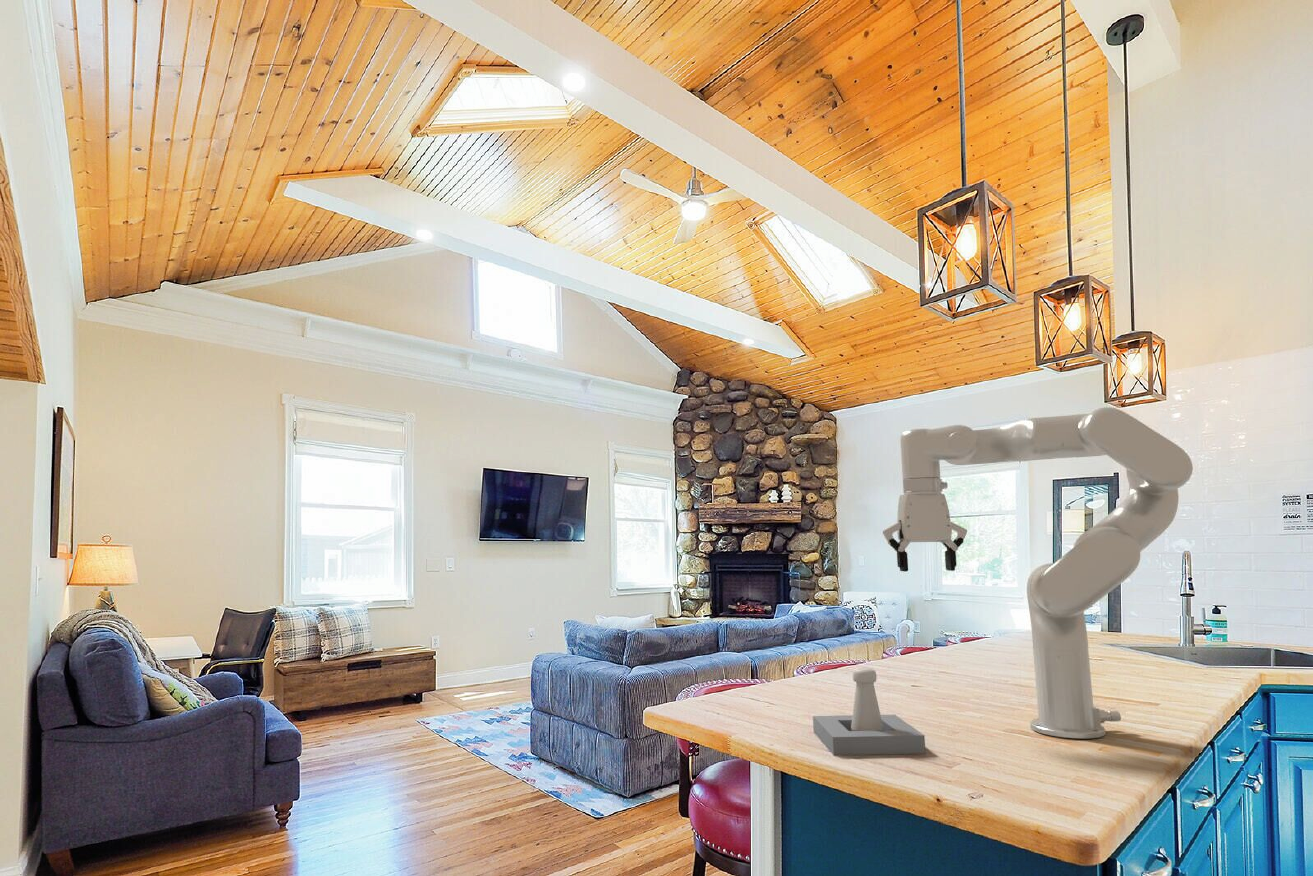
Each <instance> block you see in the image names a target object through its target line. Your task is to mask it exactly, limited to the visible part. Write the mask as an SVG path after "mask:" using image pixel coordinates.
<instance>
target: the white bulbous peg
mask: <svg viewBox="0 0 1313 876" xmlns="http://www.w3.org/2000/svg"><path fill="white" fill-rule="evenodd" d="M852 681H854V683H855V682H856V684H855V694H854V700H853V710H852V715H853V716H852V724H851V729H852V731H883V730H884V729H883V724H882V720H881V715H882V714H881V710H880V707H879V703H878V698H877V693H876V689H875V684H874V683H876V682H877V671H876V670H875V669H873V668H869V667H857V668H855V669H853V671H852Z"/></svg>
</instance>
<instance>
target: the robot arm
mask: <svg viewBox="0 0 1313 876" xmlns="http://www.w3.org/2000/svg"><path fill="white" fill-rule="evenodd" d="M899 438H900V455H901V456H900V457H901V458H900V459H901V470H902V472H901V473H902V489H903V494H901V495H899V497H898V505H897V520H896V521H897V522H896V523H894V524H892V525H891V526H889V527H887V528H886V529H884V530H882V535H883V537H884V538H885V540H886V541H887V544H888V545H889V546H890V547H891V548H892V549H894V551H895V552H896V560H897V561H896V562H897V567H898V568H899V571H900V572H908V571H909V562H908V561H909V559H908V552H907V551H906V548H908V546H909V545H910V543H941V544H942V545H943V546H944V547H945V549H946V550H945V551H944V563H945V569H946V571H950V572H954V571H956V567H957V565H958V564H957V551H958V550H959V547H960V546H961V545H962V544H963V543H964V540H965V538H966V536H967V534H968V529H966V528H965V527H962V526H960V525H958V524H957V523H954V522H953V521H951V515H950V509H949V506H948V501H947V497H946V495H945V493H943V490H944V489H946V490H947V489H948V486H949V485H948V482H947V481H946V482H944V481H942V479H941V465H940V461H945V462H946V463H948V464H951V465H954V466H968V465H969V466H970V465H982V464H983V465H986V464H997V463H1010V462H1011V463H1012V462H1029V461H1030V462H1031V461H1040V460H1041V461H1042V460H1053V459H1054V460H1056V459H1066V458H1067V459H1068V458H1087V457H1088V458H1089V457H1091V458H1092V457H1101V456H1108V457H1109V458H1111V459H1112V460H1113V461H1115V463H1118V464H1119V465H1120V466H1122V467H1124V468H1125V469H1126V472H1125V473H1126V478H1127V482H1128V486H1129V487H1128V492H1127V493H1128V494H1127V495H1126V498H1125V499H1124V500H1123V501H1122V502H1121V503H1120V504H1119V505H1117V507H1115V508H1114V509H1113V510H1112V511H1111V512H1110V513H1109V514H1108V515H1107V516H1105V517H1104V518H1102V519H1101V520H1100V521H1098V522H1097V523H1096V524H1094V525H1093V526H1092V527H1091V528H1089V529H1088V530H1086V531H1084V532H1083V533H1081V534H1080V535H1079V536H1078V537H1077V538H1076V541H1075V542H1074V544H1073V548H1071V549H1070V550H1068V551H1067V552H1066V553H1065V554H1064V555H1062V556H1061V557H1060V558H1058V560H1056V561H1055V562H1051V563H1050V562H1049V563H1045V564H1042V565H1040V566H1038V567H1036V568H1035V569H1034V570H1033V571H1031V573H1030V575H1029V577H1028V579H1027V583H1026V595H1027V596H1026V597H1027V604H1028V609H1029V611H1028V612H1029V618H1030V619H1029V620H1030V626H1031V636H1032V637H1031V638H1032V639H1031V640H1032V651H1033V652H1032V653H1033V654H1032V655H1033V664H1034V666H1033V667H1034V676H1035V688H1036V689H1035V690H1036V703H1037V712H1038V715H1037V716H1038V717H1037V718H1034V719H1032V720H1030V723H1029V724H1030V728H1031V729H1032V730H1033V731H1034V732H1037V733H1039V734H1043V735H1046V736H1051V737H1057V738H1066V739H1083V740H1084V739H1097V738H1102V737H1103V736H1105V735H1106V728H1105V726H1103V725H1102V724H1104V723H1105V722H1109V723H1110V722H1121V719H1122V716H1121V713H1120V711H1118V710H1107V711H1105V709H1100V708H1098V707H1096V706H1094V698H1093V697H1094V696H1093V688H1092V687H1093V686H1092V677H1091V666H1090V665H1091V664H1090V654H1089V640H1088V639H1089V638H1088V631H1087V623H1086V618H1085V611H1087V610H1088V609H1090V608H1092V606H1093V605H1095V604H1096V603H1097V602H1099V601H1101V599H1103V598H1104V597H1105V596H1107V595H1108V594H1110V593H1111V592H1112V591H1113V590H1115V588H1117V587H1119V585H1121V584H1122V583H1123V582H1125V581H1126V580H1127V579H1128V578H1129V577H1130V576H1131V575H1132V574H1133V573H1134V572H1135V571H1136V570H1137V569H1138V566H1139V564H1140V560H1141V552H1142V551H1143V550H1145V549H1146V548H1147V547H1148V546H1149V545H1150V544H1152V543H1153V542H1154V541H1155V540H1156V539H1157V538H1159V537H1160V536H1161V535H1162V534H1163V533H1165V531H1166V530H1167V529H1168V528H1169V527H1170V525H1171V524H1172V522H1173V521H1174V519H1175V517H1176V515H1177V511H1178V505H1179V497H1180V496H1179V490H1178V489H1179V488H1181V487H1184V486H1185V485H1186V483H1187V482H1188V481H1189V480H1190V479H1191V477H1192V475H1193V468H1194V467H1193V462H1192V459H1191V457H1190V456H1189V454H1188V453H1187V452H1186V451H1185V450H1184V449H1183V448H1181V447H1180V446H1179V445H1178V444H1176V443H1174V442H1173V441H1172V440H1170V439H1168V438H1167V437H1165V436H1164V435H1162V434H1161V433H1159V432H1157V431H1155V430H1154V429H1152V428H1151V427H1150V426H1149V425H1146V424H1145V423H1143V422H1142V421H1140V420H1138V419H1137V418H1135V417H1134V416H1132V415H1130V414H1129V413H1127V412H1126V411H1123V410H1121V409H1119V408H1116V407H1108V406H1107V407H1100V408H1098V409H1095V410H1092V412H1089V413H1082V414H1081V413H1080V414H1070V415H1057V416H1046V417H1045V416H1043V417H1032V418H1030V417H1029V418H1026V419H1022V420H1020V421H1019V420H1018V421H1016V422H1013V423H1011V424H1008V425H1003V426H999V427H993V428H985V429H973V428H971V427H969V426H966V425H963V424H955V425H948V426H944V427H943V426H942V427H938V428H931V429H930V428H914V429H908V430H905V431H903V432H902V433H901V434H900V437H899ZM952 531H954V532H956V538H954V539H953V540H952V537H953V533H952ZM895 532H896V533H897V539H898V541H897V540H896V539H895V537H894V536H893V534H894V533H895Z"/></svg>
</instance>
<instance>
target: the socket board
mask: <svg viewBox="0 0 1313 876" xmlns="http://www.w3.org/2000/svg"><path fill="white" fill-rule="evenodd" d="M880 715H881V720H882V724H883V729H884V730H883V731H852V729H851V724H852V716H853V714H852V715H847V714H846V715H812V721H813V723H812V724H813V725H812V727H813V729H812V730H813V733H814V734H815V735H816V737H817V738H818V739H819V740H820V742H821V743H822V744H823V745H824V746H825V747H826V748H827V749H828V750H829V752H830V753H831V754H832V755H833V756H855V755H856V756H857V755H858V756H860V755H904V754H905V755H908V754H909V755H912V754H913V755H914V754H915V755H917V754H919V755H920V754H926V739H925V737H926V736H925V735H924V734H923V733H922V732H921V731H919V730H918V729H916V728H914V727H913V726H912V725H911V724H909V723H908V722H906V721H905V720H903V719H902V718H901V717H899V716H898V715H896V714H880Z"/></svg>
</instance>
